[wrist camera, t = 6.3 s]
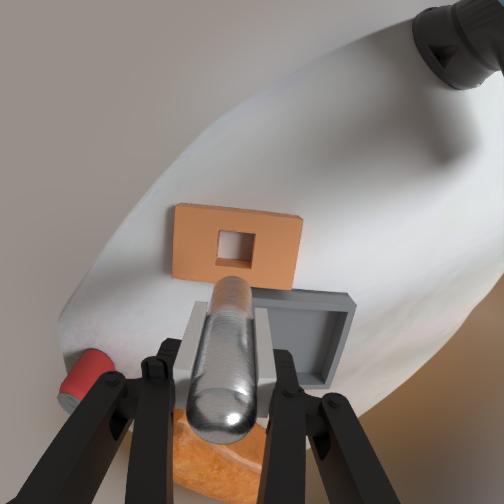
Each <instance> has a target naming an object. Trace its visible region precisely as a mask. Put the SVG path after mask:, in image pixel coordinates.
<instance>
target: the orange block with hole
mask: <svg viewBox="0 0 504 504" xmlns="http://www.w3.org/2000/svg"><path fill="white" fill-rule="evenodd" d="M302 225H303V219H302V218H301V217H299V216H297V215H289V214H281V213H273V212H265V211H256V210H247V209H238V208H229V207H219V206H209V205H198V204H187V203H180V204H178V205H176V206H175V219H174V237H173V261H172V278H176V279H184V280H193V281H202V282H210V283H217V282H218V281H219V280H220V279H222V278H224V277H226V276H237V277H240V278H242V279H244V280H245V281H246V282H247V283H248V284H249V286H250V287H258V288H269V289H280V290H291V289H292V284H293V278H294V273H295V267H296V261H297V255H298V250H299V244H300V237H301V231H302ZM220 230H225V231H235V232H244V233H253V234H254V241H253V249H252V257H251V261H243V260H233V259H224V258H217V256H218V245H219V234H220Z"/></svg>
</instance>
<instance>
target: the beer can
mask: <svg viewBox="0 0 504 504" xmlns="http://www.w3.org/2000/svg"><path fill="white" fill-rule="evenodd" d="M107 371H115V367H114V364H113V362H112V360H111V359H110V358H109V357H108V356H107V355H106V354H105V353H103V352H101V351H99V350H96V349H90V350H87V351H85V352H84V354H83V355H82V356H81V358H80V359H79V360H78V362H77V363H76V364H75V366H74V367H73V368H72V370H71V371H70V373H69V374H68V375H67V377H66V378H65V380H64V381H63V383H62V384H61V387H60V391H59V394H58V397H57V398H58V402H59V404H60V405H61V407H62V408H63V409H64V410H65V411H66V412H67V413H69V414H70V415H71V414H72V413H73V411H74V410H75V409H76V407H77V406H78V405H79V403H80V402H81V400H82V399H83V398H84V396H85V395H86V394H87V392H88V391H89V390H90V388H91V387H92V386H93V384H94V383H95V382H96V380H97V379H98V378H99V376H100V375H101V374H103V373H105V372H107Z"/></svg>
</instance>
